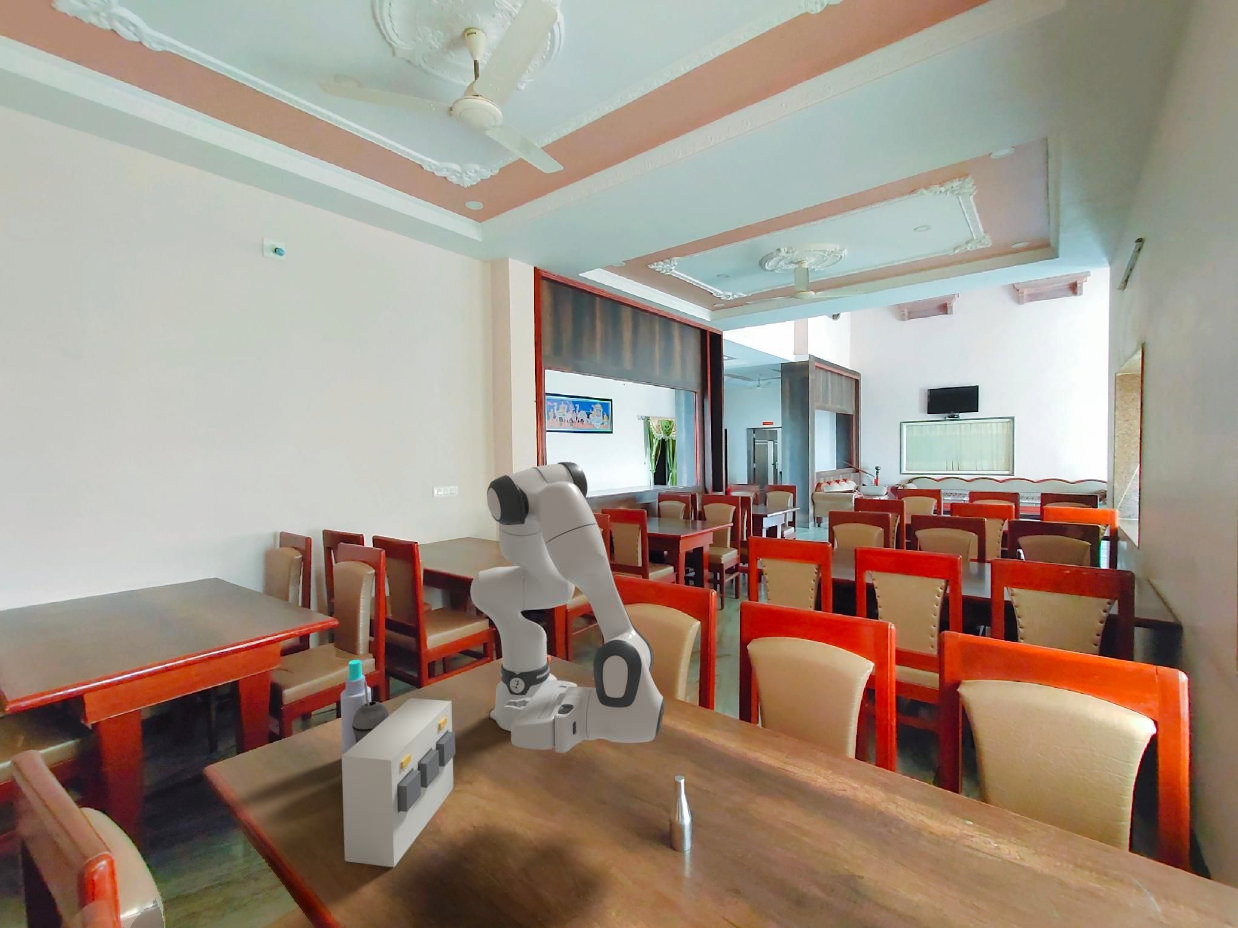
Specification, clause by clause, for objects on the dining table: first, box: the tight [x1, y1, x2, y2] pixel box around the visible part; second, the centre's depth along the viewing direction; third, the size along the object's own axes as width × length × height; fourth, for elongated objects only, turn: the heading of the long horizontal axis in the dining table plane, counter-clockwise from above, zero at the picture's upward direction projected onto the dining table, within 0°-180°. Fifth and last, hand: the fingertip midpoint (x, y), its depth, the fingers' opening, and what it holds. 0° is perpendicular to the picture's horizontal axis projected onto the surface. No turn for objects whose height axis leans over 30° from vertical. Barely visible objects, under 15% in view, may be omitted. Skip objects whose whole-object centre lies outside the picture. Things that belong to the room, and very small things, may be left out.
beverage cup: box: [352, 681, 390, 743], centre depth 115 cm, size 7×7×20 cm
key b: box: [436, 731, 456, 767], centre depth 107 cm, size 4×4×4 cm
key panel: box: [341, 697, 454, 868], centre depth 101 cm, size 21×9×18 cm, turn 170°
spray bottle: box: [340, 659, 372, 756], centre depth 122 cm, size 6×6×22 cm
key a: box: [397, 770, 421, 812], centre depth 94 cm, size 4×4×4 cm
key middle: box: [418, 749, 439, 788], centre depth 100 cm, size 4×4×4 cm
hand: (505, 707), depth 104 cm, fingers closed
